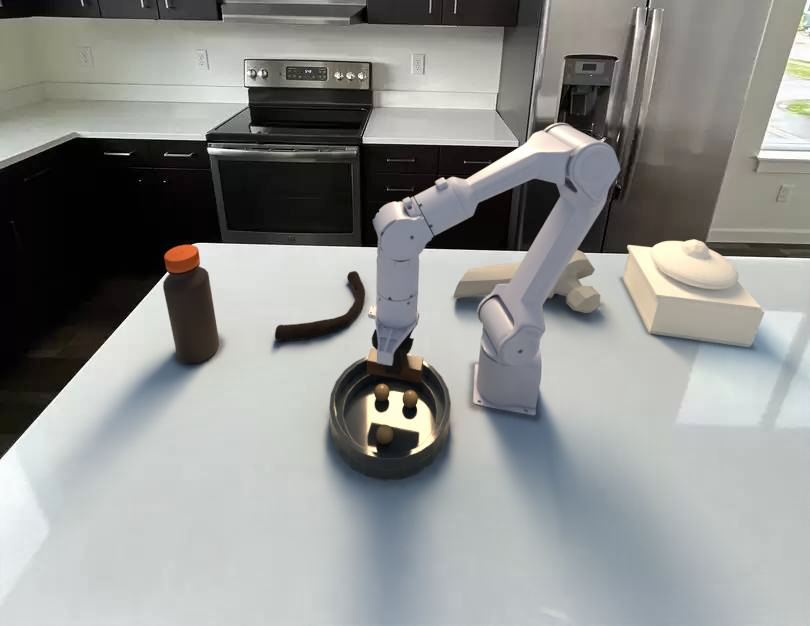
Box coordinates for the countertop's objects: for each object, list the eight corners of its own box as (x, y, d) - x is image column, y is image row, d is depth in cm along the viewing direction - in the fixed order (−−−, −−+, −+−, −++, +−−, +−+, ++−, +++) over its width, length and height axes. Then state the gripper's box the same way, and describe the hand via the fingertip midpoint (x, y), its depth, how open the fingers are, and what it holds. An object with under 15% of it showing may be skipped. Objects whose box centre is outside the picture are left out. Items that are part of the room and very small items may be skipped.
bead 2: (394, 434, 61) (394, 422, 60) (390, 450, 59) (391, 438, 58) (378, 430, 61) (378, 418, 61) (374, 446, 59) (374, 434, 58)
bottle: (199, 370, 71) (181, 268, 64) (168, 358, 73) (146, 259, 66) (228, 341, 77) (213, 246, 70) (198, 331, 79) (181, 238, 72)
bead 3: (418, 399, 66) (419, 388, 66) (416, 413, 64) (416, 401, 63) (403, 396, 67) (404, 385, 66) (400, 410, 65) (401, 398, 64)
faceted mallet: (580, 278, 97) (588, 236, 94) (605, 321, 84) (616, 273, 81) (449, 273, 98) (452, 231, 94) (453, 315, 85) (457, 268, 81)
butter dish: (750, 347, 79) (778, 275, 73) (646, 332, 82) (666, 262, 76) (705, 288, 95) (725, 225, 90) (619, 278, 98) (634, 216, 93)
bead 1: (391, 393, 67) (391, 381, 66) (387, 406, 65) (387, 394, 64) (376, 390, 68) (376, 378, 67) (372, 403, 65) (372, 391, 65)
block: (422, 369, 64) (423, 357, 63) (420, 383, 62) (420, 370, 61) (371, 360, 65) (371, 348, 64) (366, 373, 63) (366, 360, 62)
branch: (309, 366, 72) (308, 351, 71) (270, 341, 77) (269, 327, 76) (388, 293, 91) (389, 280, 90) (353, 277, 96) (353, 265, 95)
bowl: (453, 382, 70) (455, 361, 68) (441, 496, 54) (443, 471, 52) (351, 364, 73) (351, 344, 71) (312, 466, 57) (310, 443, 55)
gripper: (382, 254, 66) (381, 325, 70) (352, 319, 52) (354, 401, 57) (427, 260, 64) (423, 332, 69) (409, 328, 51) (406, 411, 56)
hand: (395, 364), depth 63 cm, fingers closed on block, 2 cm apart
